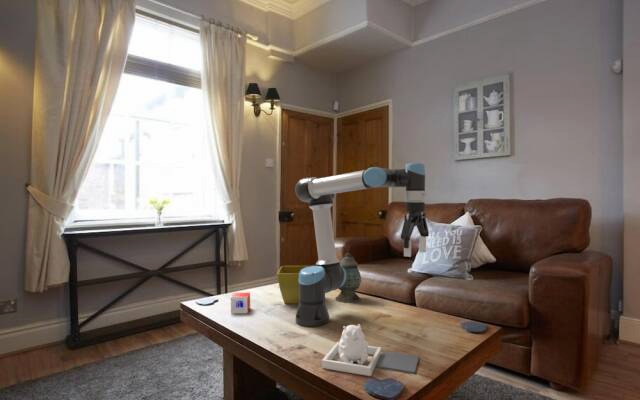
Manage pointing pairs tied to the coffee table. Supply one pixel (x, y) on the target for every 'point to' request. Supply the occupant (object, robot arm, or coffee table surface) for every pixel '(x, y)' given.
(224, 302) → the coffee table surface
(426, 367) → the coffee table surface
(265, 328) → the coffee table surface
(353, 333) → the figurine
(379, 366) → the coaster pad
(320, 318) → the robot arm
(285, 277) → the flower pot
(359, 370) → the bin frame
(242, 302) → the red and white cube
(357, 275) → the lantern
